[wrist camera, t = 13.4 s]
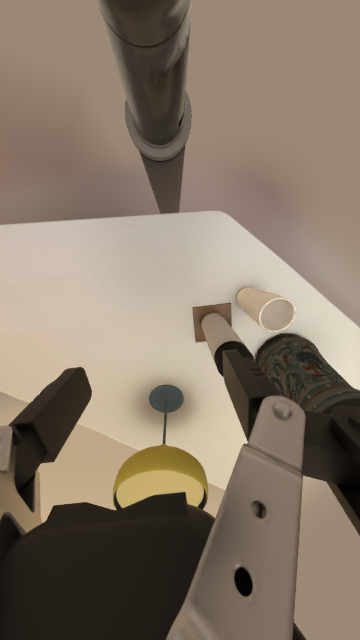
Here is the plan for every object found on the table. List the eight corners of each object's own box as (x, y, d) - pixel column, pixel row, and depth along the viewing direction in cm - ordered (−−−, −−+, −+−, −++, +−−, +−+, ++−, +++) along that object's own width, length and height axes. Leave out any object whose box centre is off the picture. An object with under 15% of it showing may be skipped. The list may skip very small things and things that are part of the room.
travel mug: (215, 306, 46) (244, 340, 27) (228, 325, 48) (263, 370, 29) (195, 319, 47) (209, 361, 28) (208, 337, 49) (230, 388, 30)
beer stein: (309, 325, 49) (432, 389, 26) (310, 380, 56) (410, 472, 32) (250, 340, 50) (316, 415, 27) (258, 393, 57) (317, 490, 33)
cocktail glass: (206, 395, 56) (229, 494, 33) (170, 428, 61) (168, 536, 37) (161, 364, 52) (150, 454, 29) (126, 402, 56) (92, 506, 33)
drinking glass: (228, 304, 46) (251, 325, 32) (240, 280, 44) (271, 291, 30) (250, 313, 47) (283, 337, 33) (263, 290, 45) (304, 305, 31)
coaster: (192, 307, 46) (192, 308, 46) (230, 302, 46) (231, 303, 46) (195, 341, 50) (195, 342, 49) (231, 337, 50) (231, 338, 49)
